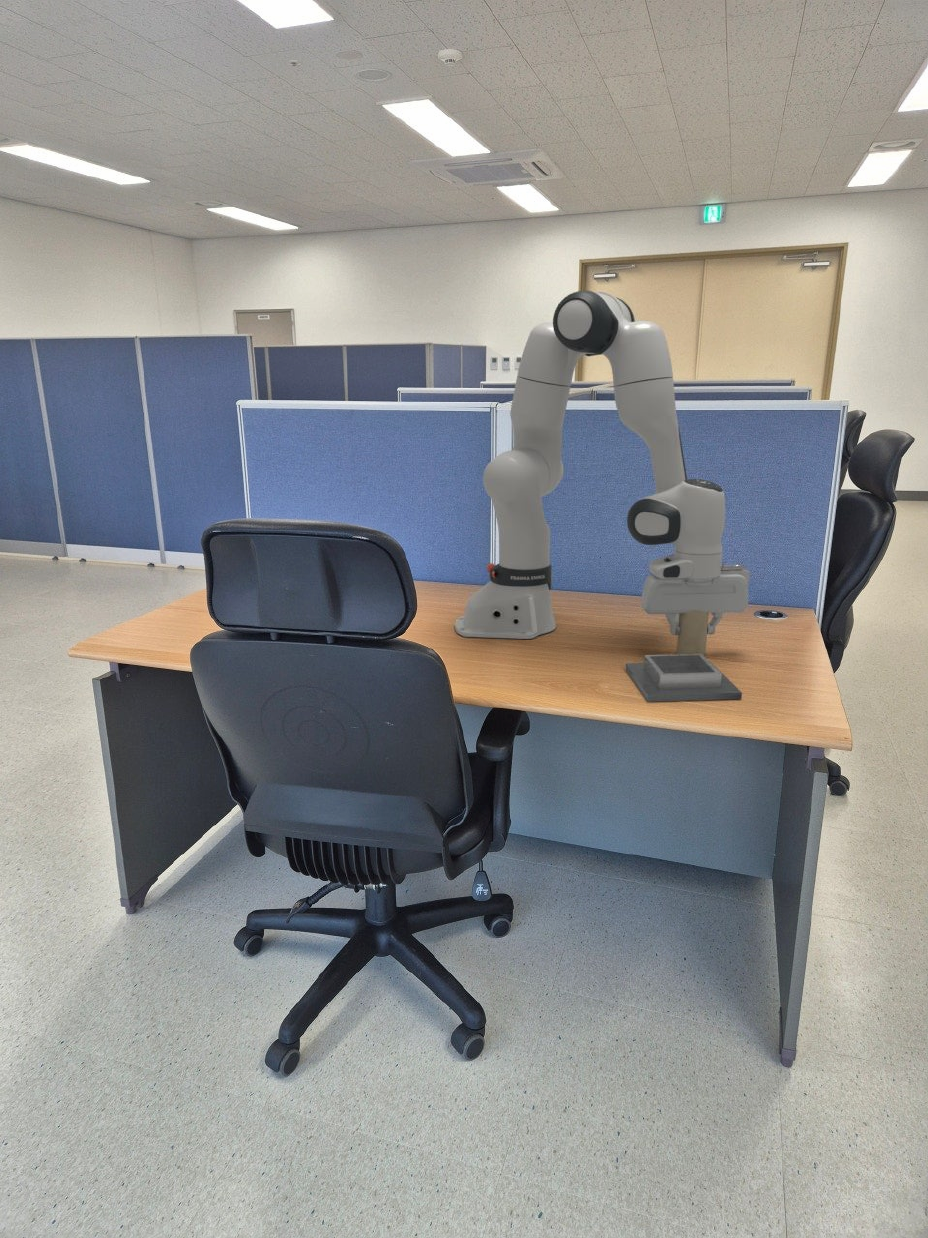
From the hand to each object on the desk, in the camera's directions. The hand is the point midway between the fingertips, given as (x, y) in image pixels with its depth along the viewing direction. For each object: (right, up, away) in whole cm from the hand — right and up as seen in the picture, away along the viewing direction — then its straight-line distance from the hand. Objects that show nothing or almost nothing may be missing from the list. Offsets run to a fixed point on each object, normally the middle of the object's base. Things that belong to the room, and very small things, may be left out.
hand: (692, 633), depth 154 cm
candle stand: (-6, -9, -14) cm, 18 cm away
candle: (0, -4, +1) cm, 4 cm away
